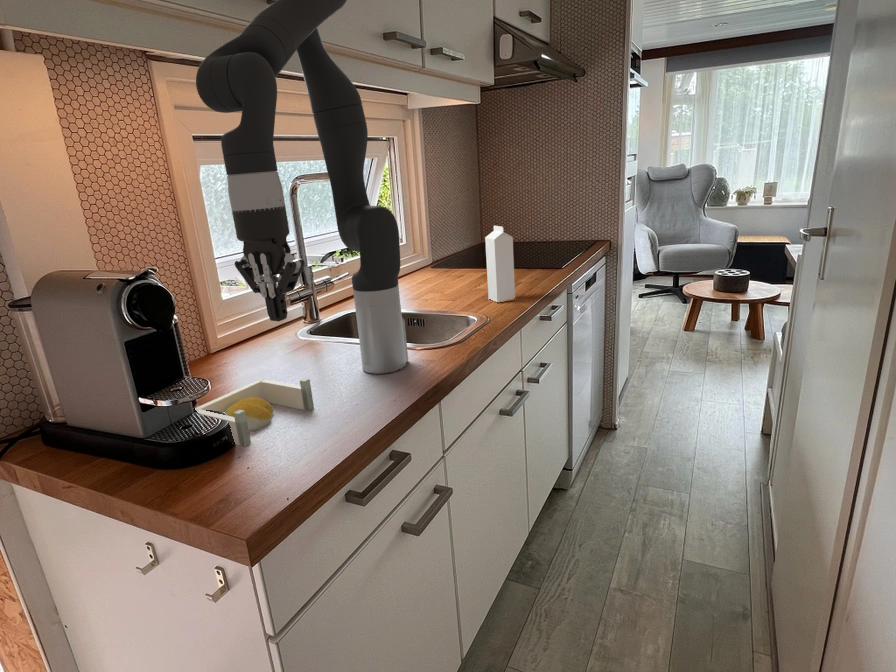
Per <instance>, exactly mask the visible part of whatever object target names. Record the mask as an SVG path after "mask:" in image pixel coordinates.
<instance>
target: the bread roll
mask: <svg viewBox="0 0 896 672" xmlns="http://www.w3.org/2000/svg"><path fill="white" fill-rule="evenodd" d="M238 410H244V411H245V414H246V419H247V424H248V430H249V433H250V432H253V431H254V432H255V431H257V430H260V429H262V428H264V427H265V426H267V425H268V424H269V423H270V421H271V419H272V416H273V413H274V409H273V406H272V405H271V403H268V402H267V401H265V400H263V399H261V398H255V397H254V398H245V399H242V400H240V401H238V402H236V403H235V404H233V405H232V406H230V407H229V408H228V409H227V410H226V412H225V413H226V414H227V415H228V416H231V417H234V412H236V411H238Z"/></svg>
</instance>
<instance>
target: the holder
mask: <svg viewBox="0 0 896 672" xmlns="http://www.w3.org/2000/svg"><path fill="white" fill-rule="evenodd" d="M311 386H312V385H311V380H310V378H305V377H304V378H302V379H299V384H293V383H287V382H282V381H277V380H270V379H265V378H259V379H257V380H256V381H255V380H254V381H253V382H251V383H249V384H246V385H244V386H241V387H239V388H238V389H235V390H233V391H231V392H227V393H226V394H224V395H222V396H220V397H218V398H217V397H216V398H215V399H213V400H211V401H208V402H205V403H204V404H202V405H201V404H200V405H199V406H197V407H194V408H195V410H196V411H197V412H198V413H199V414H202V415H205V416H210V417H214V418H217V419H220V420H225V421H227V422H228V423H229V425H230V427H231V428H230V429H231V432H232V436H233V439H234V442H235V444H234V445H238V446H241V447H247V446H249V445H251V444H252V441H251V435H250V432H249V430H248V424H247V419H246V414H245V411H244V410H238V411H236V412H234V417H231V416H227V415H223V414H218V413H214V412H210V411H206V410H213V411H221V412H226V410H227V409H228V408H229V407H230V406H232V405H233V404H235V403H236V402H238V401H240V400H242V399H245V398H254V397H255V398H261V399H263V400H265V401H267V402H268V403H269V404H274V405H279V406H283V407H289V408H293V409H298V410H303V411H308V412H310V411H312V410H314V409H315V405H314V400H313V399H314V398H313V393H312V387H311Z"/></svg>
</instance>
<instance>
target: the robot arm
mask: <svg viewBox="0 0 896 672" xmlns="http://www.w3.org/2000/svg"><path fill="white" fill-rule="evenodd" d="M346 3H347V0H276V1H275V2H273V3H271V4H269V5H267V6H266V7H265V8H264V9H262V10H261V11H260V12H259V13H257V14H256V15H255V16H254V17H253V18H252V19H251V20H250V22H249V23H248V24H247V25H246V26H245V27H244V29H243V30H242V31H241V32H240V34H239V35H237V36H236V37H235V38H233V39H231V40H230V41H228V42H226V43H225V44H223V45H222V46H220V47H218V48H217V49H216V50H214V51H212V52H210V54H207V56H206V57H205V58H204V59H203V60H202V61H201V63H200V64H199V66H198V68H197V71H196V75H195V76H196V77H195V87H196V91H197V94H198V96H199V98H200V100H201V101H202V102H203V104H204V105H205V106H206V107H208V108H209V109H210V110H212V111H214V112H218V113H221V114H222V113H224V114H226V113H227V114H228V113H229V114H230V113H235V112H237V113H238V112H241V116H240V117H241V118H240V122H239V124H238V126H236V127H235V128H233V129H231V130H229V131H227V132H224V134H223V135H222V136H221V138H220V140H221V141H220V145H221V150H222V156H223V162H224V167H225V168H224V169H225V172H226V173H225V174H226V175H227V177H226V179H227V191H228V192H227V193H228V198H229V203H230V207H231V214H232V219H233V224H234V229H235V234H236V238H237V240H238V241H240V242H243V248H242V253H243V256H242V257H241V259H238V260H236V261H234V267H235V268H236V269H237V271H238V273H239V274H240V275H241V276H242V278H243V280H244V281H245V282H246V284H247V285H248V287H250V289H251V291H253V293H254V294H260V295H261V296H262V298H264V300H265V306H266V311H267V315H268V318H269V320H270V321H271V322H281V321H282V322H283V321H284V320H286V319H287V318H288V309H287V303H286V294H288V293H290V292H292V291H293V292H294V290H295V288H296V286H297V284H298V281H299V280H300V279H299V278H300V277H301V274H302V272H303V270H304V268H305V260H304V259H303V258H298V259H297V258H296V257H295V256H294V255H293V254H291V253H292V250H291V246H290V245H289V243H288V241H287V237H288V236H289V234H290V227H289V220H288V219H289V218H288V214H287V208H286V202H285V196H284V190H283V186H282V181H281V179H280V176H279V171H278V163H277V160H276V159H277V158H276V153H275V147H274V134H275V125H276V124H275V122H276V111H277V102H278V82H277V78H276V77H277V76H278V75H279V74H280V73H281V72H282V70H283V69H284V68H285V67H286V66H287V64H288V62H289V60H291V58H292V57H293V55H294V54H295V52H296V55H297V57H298V61H299V65H300V68H301V73H302V76H303V79H304V82H305V86H306V90H307V91H306V92H307V94H308V99H309V104H310V109H311V114H312V117H313V121H314V125H315V128H316V134H317V136H318V139H319V142H320V146H321V150H322V155H323V159H324V163H325V166H326V171H327V175H328V177H329V182H330V188H331V193H332V200H333V206H334V213H335V220H336V226H337V227H336V228H337V232H338V235H339V237H340V239H341V242H342V243H343V244H344V246H345V247H346V248H347V249H349V250H350V251H352V252H356V253H359V260H360V262H359V263H360V264H359V270H358V271H356V272H354V273H352V276H351V285H352V292H353V299H354V308H355V316H356V324H357V332H358V334H357V335H358V339H359V340H358V341H359V348H360V357H361V365H362V370H363V372H366V373H368V374H375V375H379V374H389V372H390V373H394V372H397V370H398V371H400V370H403V369H404V368H405V367H406V366H407V362H408V361H409V353H408V343H407V342H408V341H407V334H406V333H407V332H406V322H405V318H403V317H402V307H401V306H402V305H401V298H400V288H399V275H400V271H401V249H400V248H401V247H400V246H401V245H400V231H399V230H400V229H399V225H398V222H397V220H396V216H395V215H394V214H393V212H392V211H391V210H390V209H389V208H387V207H385V206H381V205H371V204H370V199H369V198H368V192H367V189H366V185H365V175H364V170H365V169H364V168H365V160H366V155H367V154H366V153H367V148H368V140H369V139H368V138H369V137H368V135H369V134H368V133H369V131H368V125H367V120H366V116H365V112H364V107H363V102H362V99H361V95H360V93H359V91H358V89H357V87H356V85H354V83H353V82H352V80H351V79H350V78H349V77H348V76H347V75H346V73H345V72H344V71H343V70H342V69H341V67H339V66H338V64H337V63H336V62H335V61H334V60H333V58H332V57H331V56H330V54H329V53H328V51H327V49H326V48H325V46H324V43H323V40H322V38H321V36H320V32H319V29H318V27H320V25H322V24H323V23H324V22H325V21H326V20H328V19H329V18H330V17H331V16H333V15H334V14H336V13H337V12H338V11H340V9H343V7H344V6H345V4H346ZM404 366H405V367H404ZM403 367H404V368H403ZM399 369H400V370H399Z"/></svg>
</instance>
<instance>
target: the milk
mask: <svg viewBox="0 0 896 672" xmlns="http://www.w3.org/2000/svg"><path fill="white" fill-rule="evenodd" d="M484 239H485V242H484V243H485V257H486V274H487V275H486V278H487V294H488V295H487V297H488V298H487V299H488V300H489V299H491V300H493V301H496V302H499V301H503V300H507V299H512V298H515V299H516V290H515V289H516V287H515V260H514V259H515V258H514V237H513V236H512V235H510V234H509V233H506V232H504V226H500V225H493V231H491V232H490V233H489V234H488V235H486V236H485V237H484Z"/></svg>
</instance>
